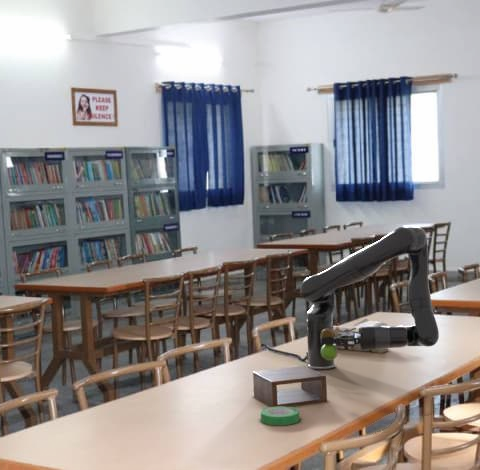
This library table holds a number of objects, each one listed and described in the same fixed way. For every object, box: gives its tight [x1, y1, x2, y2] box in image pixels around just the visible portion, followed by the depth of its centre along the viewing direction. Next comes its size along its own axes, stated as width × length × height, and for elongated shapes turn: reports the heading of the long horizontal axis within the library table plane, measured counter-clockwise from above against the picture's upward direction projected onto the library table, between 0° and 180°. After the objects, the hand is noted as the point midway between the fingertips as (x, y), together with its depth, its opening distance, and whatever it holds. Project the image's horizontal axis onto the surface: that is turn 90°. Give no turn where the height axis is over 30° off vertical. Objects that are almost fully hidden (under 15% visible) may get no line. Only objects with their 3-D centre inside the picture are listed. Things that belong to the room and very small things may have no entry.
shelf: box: [252, 365, 328, 407], centre depth 293 cm, size 16×18×8 cm
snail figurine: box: [321, 322, 341, 360], centre depth 304 cm, size 5×6×12 cm
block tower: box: [333, 325, 389, 354], centre depth 367 cm, size 8×8×29 cm
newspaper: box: [350, 318, 388, 329], centre depth 396 cm, size 35×12×4 cm, turn 143°
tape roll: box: [260, 406, 300, 426], centre depth 270 cm, size 11×11×3 cm
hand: (321, 340), depth 304 cm, fingers closed on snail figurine
